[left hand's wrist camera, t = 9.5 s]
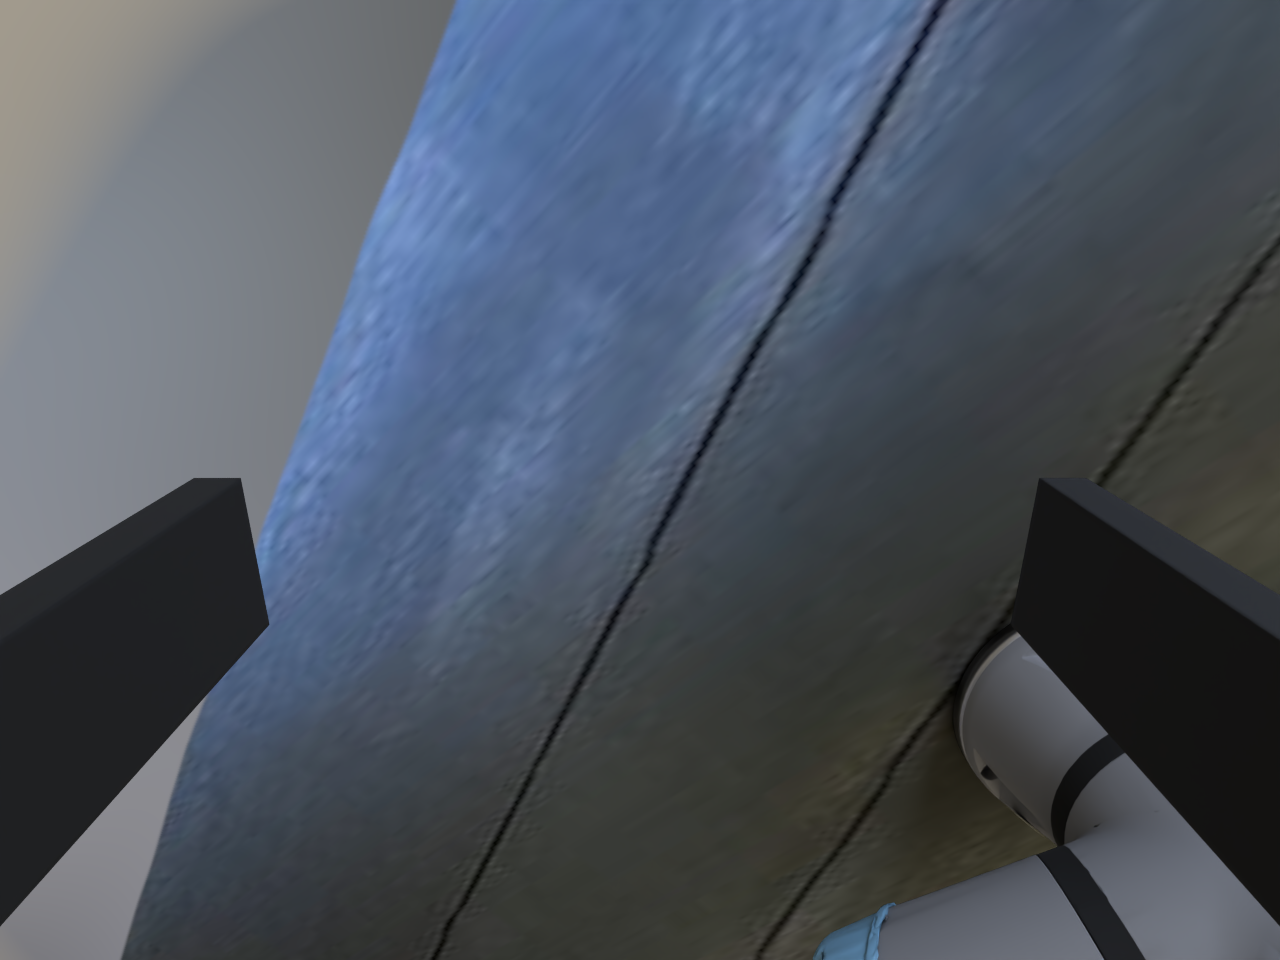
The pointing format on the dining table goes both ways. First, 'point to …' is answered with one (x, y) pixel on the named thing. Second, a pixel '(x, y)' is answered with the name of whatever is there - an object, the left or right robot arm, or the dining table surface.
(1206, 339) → the dining table surface
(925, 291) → the dining table surface
